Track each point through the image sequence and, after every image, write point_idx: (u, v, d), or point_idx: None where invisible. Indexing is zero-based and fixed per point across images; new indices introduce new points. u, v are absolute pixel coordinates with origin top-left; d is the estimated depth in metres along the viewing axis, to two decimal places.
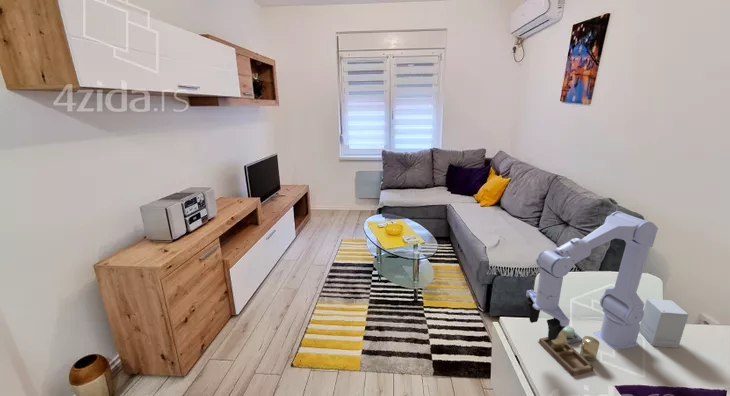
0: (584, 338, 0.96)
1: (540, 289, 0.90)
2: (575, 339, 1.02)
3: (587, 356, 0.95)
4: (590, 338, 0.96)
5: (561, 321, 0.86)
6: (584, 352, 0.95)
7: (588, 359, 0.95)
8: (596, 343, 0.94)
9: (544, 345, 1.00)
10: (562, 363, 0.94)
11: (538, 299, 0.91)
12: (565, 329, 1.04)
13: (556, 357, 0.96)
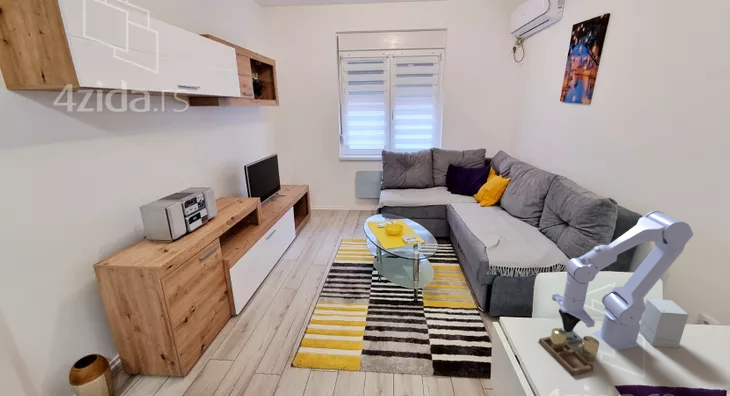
0: (584, 338, 0.96)
1: (565, 292, 1.00)
2: (575, 339, 1.02)
3: (587, 356, 0.95)
4: (590, 338, 0.96)
5: (587, 323, 0.95)
6: (584, 352, 0.95)
7: (588, 359, 0.95)
8: (596, 343, 0.94)
9: (544, 345, 1.00)
10: (562, 363, 0.94)
11: (565, 302, 1.00)
12: None
13: (556, 357, 0.96)
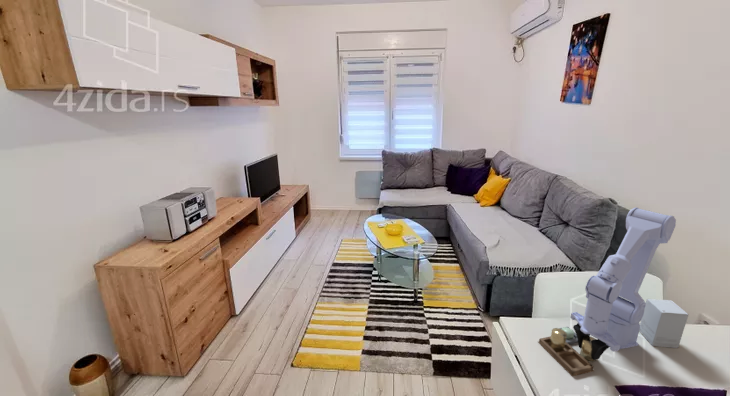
0: (584, 338, 0.96)
1: (591, 315, 0.90)
2: (575, 339, 1.02)
3: (587, 356, 0.95)
4: (590, 338, 0.96)
5: (612, 346, 0.87)
6: (584, 352, 0.95)
7: (588, 359, 0.95)
8: None
9: (544, 345, 1.00)
10: (562, 363, 0.94)
11: (587, 323, 0.92)
12: (565, 331, 1.04)
13: (556, 357, 0.96)
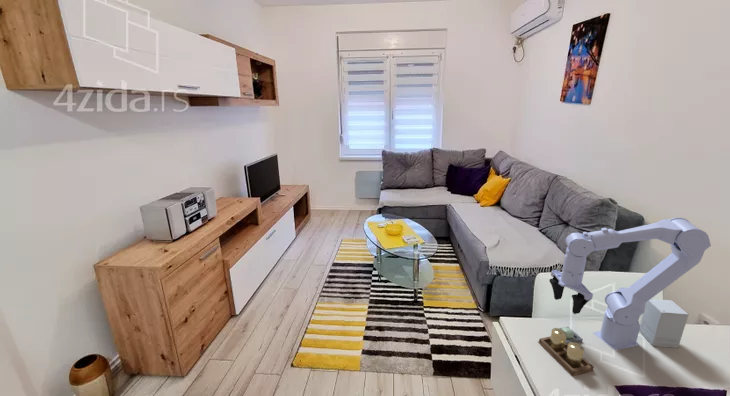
0: (575, 343, 0.94)
1: (563, 265, 1.02)
2: (575, 339, 1.02)
3: None
4: (580, 347, 0.92)
5: (585, 295, 0.96)
6: None
7: (565, 359, 0.95)
8: (575, 349, 0.92)
9: (544, 345, 1.00)
10: (562, 363, 0.94)
11: (564, 277, 1.01)
12: (565, 331, 1.04)
13: (556, 357, 0.96)
